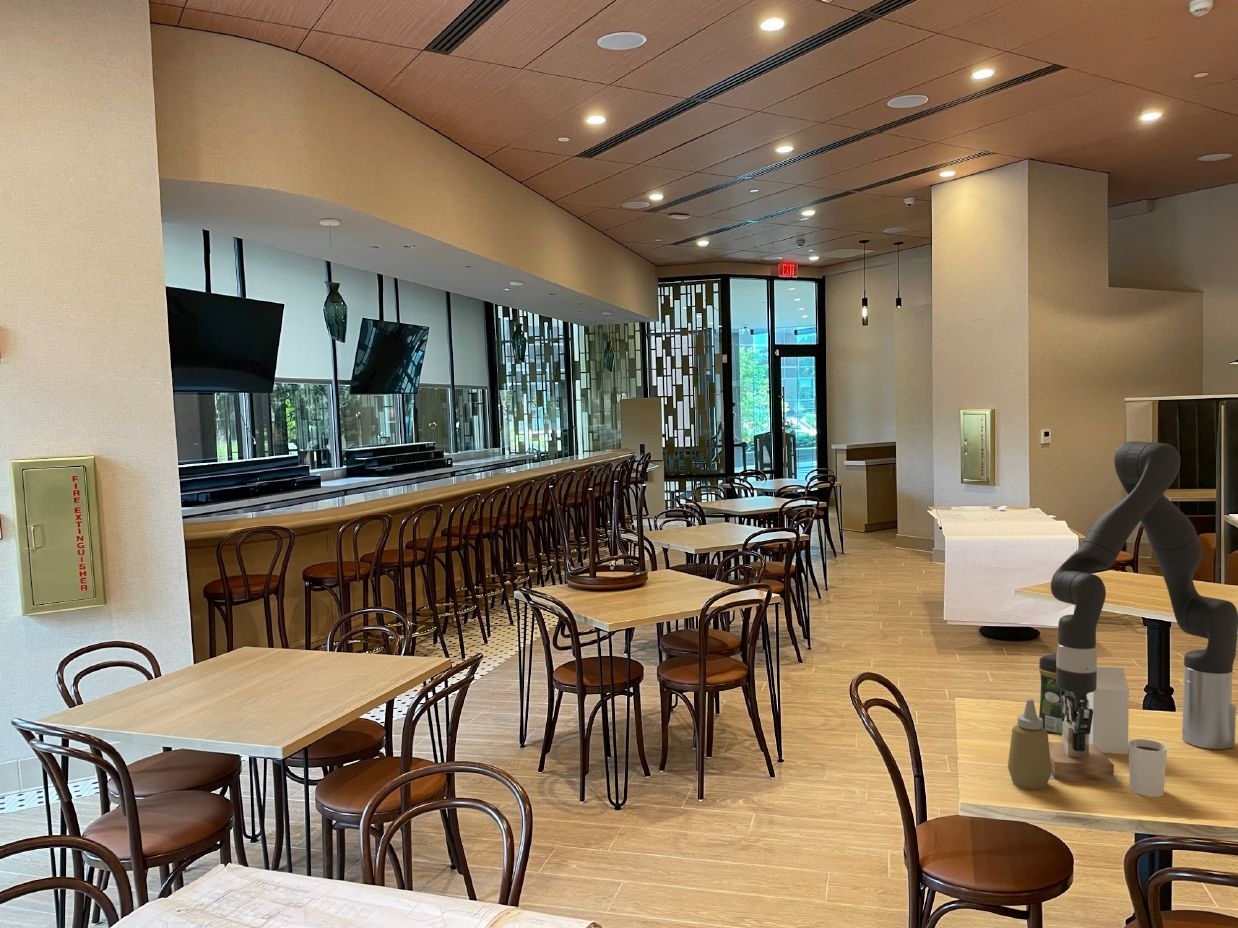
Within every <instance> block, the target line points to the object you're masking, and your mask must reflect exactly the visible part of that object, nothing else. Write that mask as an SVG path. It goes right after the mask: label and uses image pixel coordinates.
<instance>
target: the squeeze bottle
mask: <svg viewBox="0 0 1238 928" xmlns="http://www.w3.org/2000/svg"><path fill="white" fill-rule="evenodd" d="M1023 710H1024V711H1023V714H1019V715H1018V716H1017V721H1016V723H1017V724H1016V725H1014V726H1013V727H1012V729H1011V737H1010V746H1009V753H1008V760H1007V762H1008V763H1007V770H1008V772H1009V775H1010V778H1011V781H1012V783H1013V785H1015V786H1016V787H1018V788H1021V789H1024V790H1028V791H1042V790H1044V789H1046V788H1047V786H1048V783H1049V780H1050V779H1049V778H1050V776H1051V773H1052V772H1051V762H1050V751H1049V742H1050V741H1049V733H1047V731H1046V730H1045V729H1043V728H1042V727H1043V720H1042V718H1040V717H1039V715H1037V711H1036V706H1035V701H1034V699H1029V698H1028V699H1026V702H1025V706H1024V709H1023Z"/></svg>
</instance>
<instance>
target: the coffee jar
mask: <svg viewBox="0 0 1238 928" xmlns="http://www.w3.org/2000/svg"><path fill="white" fill-rule="evenodd" d="M1056 660H1057V651H1056V652H1053V653H1050V654H1046V655H1043V656H1041V657H1039V663H1038V664H1039V667H1038V671H1039V675H1040V697H1039V699H1040V700H1039V715H1038V717H1040V718H1042V720H1043V727H1042V728H1043V729H1045V730H1046V731H1047V733H1048V734H1050V735H1057V736H1058V735H1059V736H1062V721H1064V718H1062V712H1061V700H1060V690H1062V689H1060V688H1059V687H1058V686H1057V685H1056Z"/></svg>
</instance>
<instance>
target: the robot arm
mask: <svg viewBox="0 0 1238 928" xmlns="http://www.w3.org/2000/svg"><path fill="white" fill-rule="evenodd" d="M1113 459H1114V460H1113V463H1114V469H1115V473H1116V475H1117V478H1118V479H1119V481H1120V483H1121V485H1122V487H1123V489H1124V490H1125V493H1126V494H1127V495H1126V496H1125V497H1124V498H1123V499H1122V500H1121V501H1119V502H1118V503H1117V504H1115V505H1114V506H1112V507H1111V508H1110V509H1108V510H1107V511H1106V512H1104V513H1103V514H1102V515H1101V516H1099V517H1098V518H1097V519H1096V520H1095V522H1094V523H1093V524H1092V525H1091V527H1090V528H1089V530H1088V532H1087V533H1086V536H1085V537H1084V539H1082V542H1081V544H1080V546H1079V548H1078V549H1077V550H1076V551H1074V552H1073V553H1072V554H1071V555H1070V556H1069V557H1068V558H1067V559H1065V561H1064V562H1063V563H1062V564H1061V565H1060V566H1059V567H1058V568H1057V569H1056V571H1055V572H1054V573H1053V575H1052V576H1051V577H1052V578H1051V580H1050V592H1051V593H1052V596H1053V597H1054V598H1055V599H1056V600H1057V601H1060V602H1063V603H1066V604H1070V605H1073V606H1075V609H1074V611H1073V613H1072V614H1066V615H1063V616H1061V617H1060V618H1059V620H1058V624H1057V630H1058V633H1057V636H1058V638H1057V649H1056V652H1057V660H1056V685H1057V686H1058V687H1059V688H1060V689H1062V690H1060V700H1061V712H1062V718H1064V721H1070V722H1072V727H1073V730H1072V731H1073V749H1074V750H1075V751H1082V752H1083V751H1085V734H1090V730H1091V724H1092V717H1093V710H1092V709H1088V708H1089V700H1087V694H1088V693H1090V692H1094V691H1095V690H1096V687H1097V666H1098V657H1097V648H1096V646H1097V643H1096V642H1097V627H1098V623H1099V620H1100V617H1101V614H1102V610H1103V607H1104V604H1105V600H1106V596H1107V591H1106V586H1105V584H1104V581H1103V579H1101V577H1099V576H1098V575H1096V574H1093V573H1095V572H1097V571H1105V570H1109V569H1110V568H1111V567H1113V565H1114V564H1115V562H1116V560H1117V558H1118V557H1119V555H1120V553H1121V551H1122V550H1123V548H1124V546H1125V544H1126V542H1127V541H1128V539H1129V538H1130V536H1131V535H1132V533H1133V531H1134V530H1135V528H1136V527H1137V526H1138V524H1139V523H1140V522H1141V525H1142V526H1143V529H1144V532H1145V535H1146V537H1147V540H1148V543H1149V546H1150V547H1151V550H1152V552H1153V555H1154V558H1155V559H1156V562H1157V564H1158V567H1159V568H1160V572H1161V574H1162V578H1163V580H1164V583H1165V586H1166V589H1167V591H1168V596H1169V599H1170V603H1171V607H1172V608H1171V609H1172V610H1173V614H1174V618H1175V620H1176V623H1177V626H1178V627H1179V628H1180V629H1181V631H1182V632H1183V633H1185V634H1188V635H1191V636H1194V637H1199V638H1203V639H1208V640H1207V645H1206V648H1205V649H1196V650H1195V649H1194V650H1190V651H1188V652H1185V654H1184V658H1183V688H1182V689H1183V692H1182V693H1183V695H1182V699H1183V700H1182V728H1181V731H1182V733H1181V735H1182V737H1181V739H1182V741H1184V742H1185V743H1188V744H1190V745H1192V746H1195V747H1200V748H1202V749H1203V748H1204V749H1209V750H1227V749H1230V748H1232V749H1233V748H1235V747H1236V719H1237V718H1236V717H1237V716H1236V714H1237V707H1236V705H1235V704H1233V700H1232V699H1233V671H1234V669H1233V668H1234V663H1235V659H1236V655H1237V641H1238V609H1237V607H1236V605H1235V604H1234V603H1233V602H1231V601H1229V600H1226V599H1220V598H1215V597H1210V596H1203V595H1201V594H1200V593H1199V592H1198V591H1197V589H1196V586H1195V583H1194V580H1193V579H1194V575H1195V574H1196V571H1197V569H1198V568H1199V567H1200V566H1199V565H1200V564H1201V561H1202V558H1203V555H1204V553H1203V551H1204V550H1203V547H1202V543H1201V540H1200V538H1199V535H1198V533H1197V530H1196V528H1195V526H1194V525H1193V522H1192V521H1191V520H1190V519H1189V517H1188V516H1187V515H1186V514H1184V513H1183V512H1182V510H1180V509H1179V508H1178V507H1177V505H1175V504H1174V503H1173V502H1172V501H1170V499H1169V498H1167V497H1166V496H1165V494H1164V493H1166V491H1167V490H1168V489H1169V488H1170V487H1171V485H1172V483H1174V481H1175V479H1176V478H1177V475H1179V473H1180V468H1181V464H1182V463H1181V455H1180V453H1179V451H1178V449H1177V448H1175V446H1173V445H1172V444H1168V443H1162V442H1150V441H1138V440H1137V441H1136V440H1135V441H1127V442H1123V443H1122V444H1120V445H1119V446H1117V448H1116V451H1115V454H1114V458H1113ZM1081 725H1082V726H1083V728H1081Z"/></svg>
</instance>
